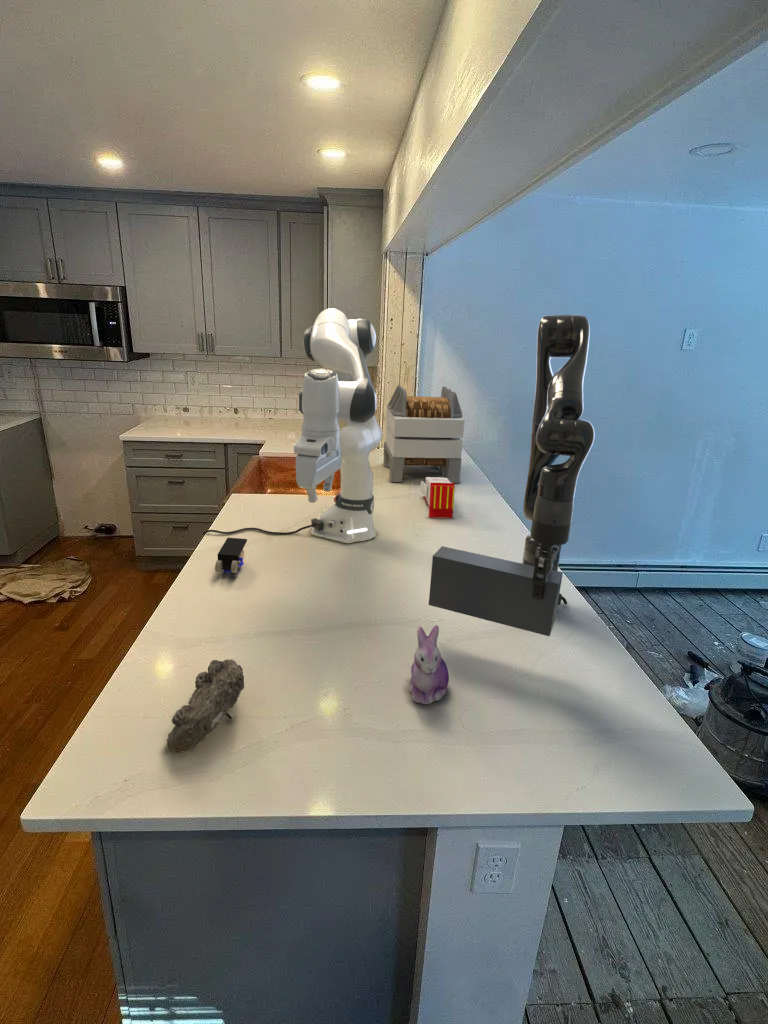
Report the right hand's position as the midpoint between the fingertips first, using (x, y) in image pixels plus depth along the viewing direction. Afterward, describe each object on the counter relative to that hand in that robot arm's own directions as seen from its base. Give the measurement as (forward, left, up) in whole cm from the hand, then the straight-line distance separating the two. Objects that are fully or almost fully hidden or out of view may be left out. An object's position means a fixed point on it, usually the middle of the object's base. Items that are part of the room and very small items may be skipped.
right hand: (540, 591), depth 120 cm
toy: (-27, -107, -20) cm, 112 cm away
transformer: (-40, -154, -20) cm, 160 cm away
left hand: (+38, -40, +11) cm, 56 cm away
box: (+7, -7, -8) cm, 13 cm away
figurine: (+25, 0, -20) cm, 32 cm away
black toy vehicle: (+57, -69, -20) cm, 92 cm away
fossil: (+67, -5, -20) cm, 70 cm away
